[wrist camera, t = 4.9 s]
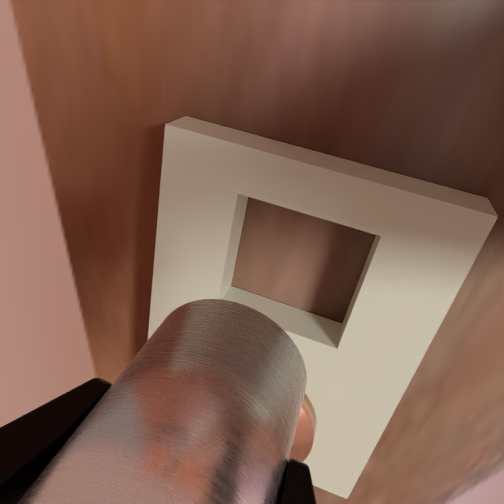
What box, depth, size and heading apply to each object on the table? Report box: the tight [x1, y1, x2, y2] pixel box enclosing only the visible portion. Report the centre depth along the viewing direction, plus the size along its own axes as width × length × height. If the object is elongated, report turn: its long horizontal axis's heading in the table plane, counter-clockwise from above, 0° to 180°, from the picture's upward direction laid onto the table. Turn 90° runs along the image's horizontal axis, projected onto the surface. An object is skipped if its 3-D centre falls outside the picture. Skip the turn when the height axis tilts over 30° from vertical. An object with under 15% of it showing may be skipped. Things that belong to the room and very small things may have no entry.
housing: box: [148, 116, 498, 499], centre depth 21 cm, size 13×18×2 cm
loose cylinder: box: [17, 299, 307, 504], centre depth 8 cm, size 4×4×7 cm
